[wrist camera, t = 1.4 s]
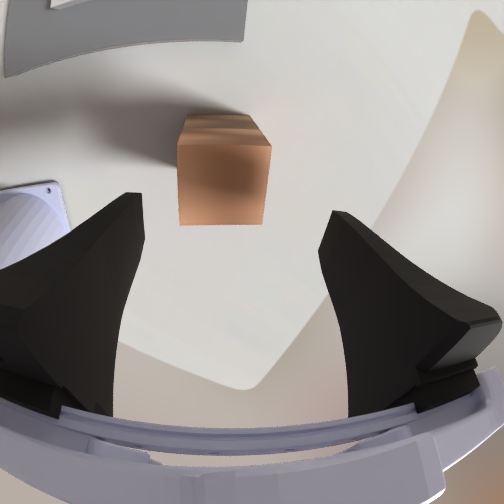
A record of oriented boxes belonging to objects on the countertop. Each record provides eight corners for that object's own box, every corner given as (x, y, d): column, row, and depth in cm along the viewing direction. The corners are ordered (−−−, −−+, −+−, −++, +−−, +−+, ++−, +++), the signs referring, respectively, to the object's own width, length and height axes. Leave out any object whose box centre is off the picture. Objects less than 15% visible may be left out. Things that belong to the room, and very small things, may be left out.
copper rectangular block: (187, 170, 19) (179, 225, 13) (187, 114, 16) (176, 145, 11) (244, 170, 19) (262, 224, 14) (249, 115, 17) (271, 146, 12)
